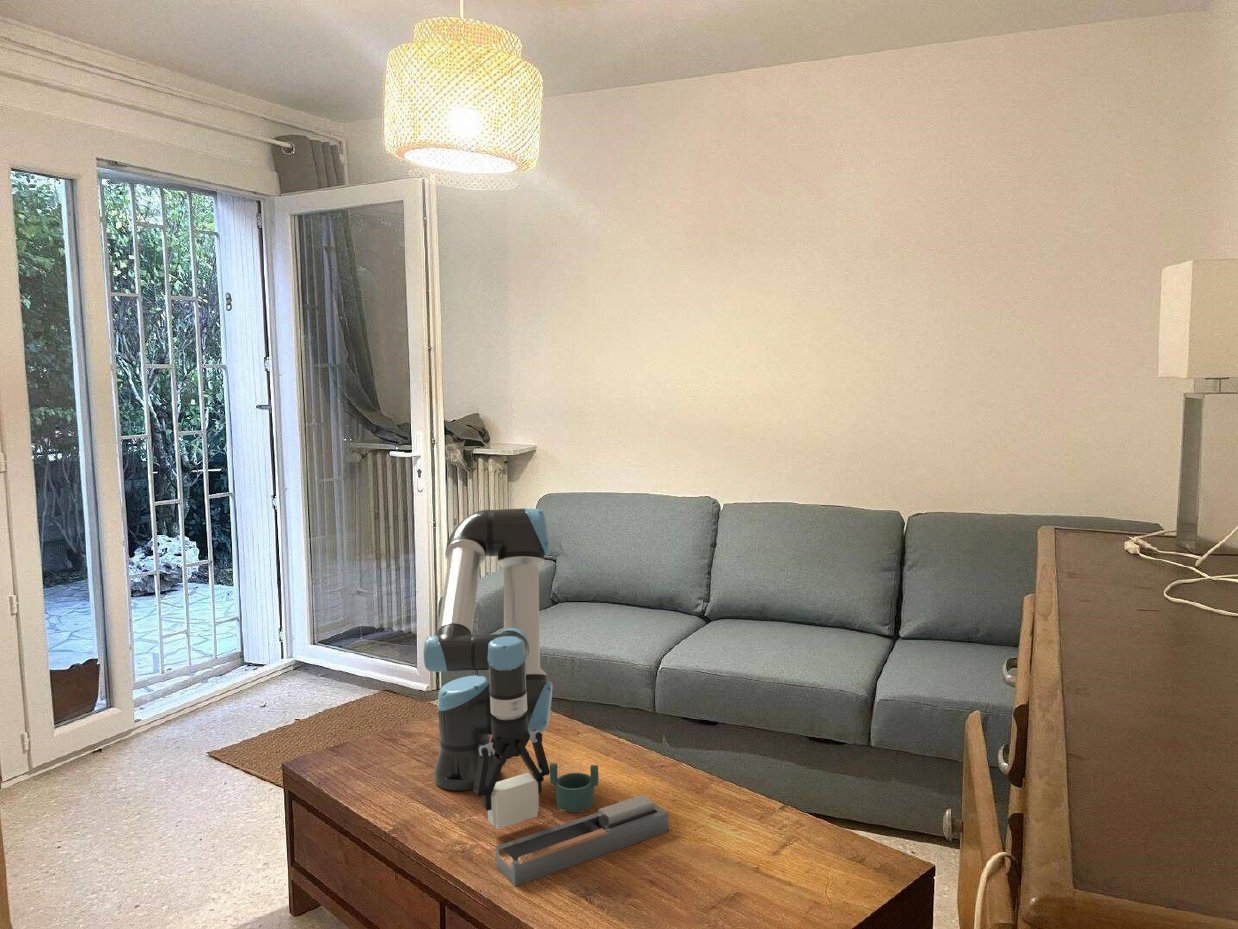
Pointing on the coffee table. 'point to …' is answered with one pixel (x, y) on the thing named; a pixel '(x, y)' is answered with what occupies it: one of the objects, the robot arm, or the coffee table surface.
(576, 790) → the teal cylindrical holder
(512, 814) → the block
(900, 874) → the coffee table surface
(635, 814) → the rack
